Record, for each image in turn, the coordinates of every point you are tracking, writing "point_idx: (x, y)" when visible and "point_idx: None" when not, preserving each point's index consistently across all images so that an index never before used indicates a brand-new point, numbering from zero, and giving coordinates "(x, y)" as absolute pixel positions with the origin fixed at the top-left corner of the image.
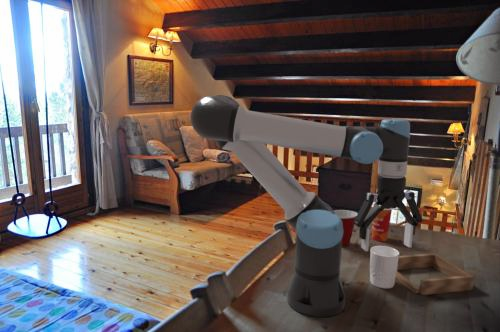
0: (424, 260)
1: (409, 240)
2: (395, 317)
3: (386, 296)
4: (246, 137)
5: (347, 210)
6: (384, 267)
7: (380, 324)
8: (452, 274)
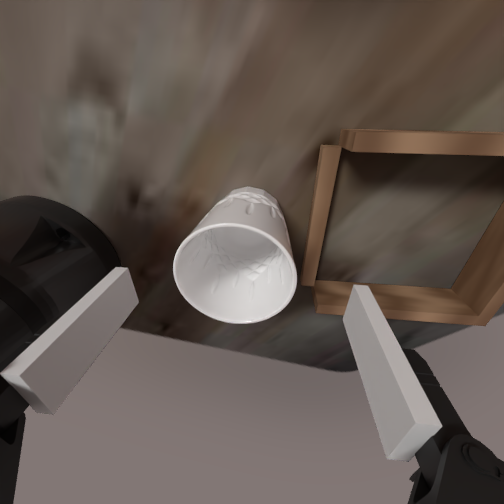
0: None
1: (353, 349)
2: (205, 327)
3: None
4: None
5: None
6: (220, 285)
7: (171, 333)
8: (489, 253)
